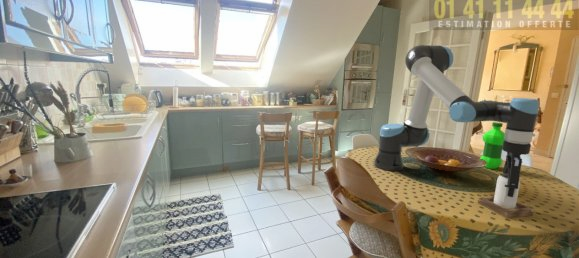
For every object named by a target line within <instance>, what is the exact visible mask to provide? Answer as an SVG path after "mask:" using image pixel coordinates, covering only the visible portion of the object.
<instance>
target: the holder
mask: <svg viewBox="0 0 579 258" xmlns="http://www.w3.org/2000/svg"><path fill="white" fill-rule="evenodd" d="M494 196H495V195H491V196H490V195H489V196H482V197H480V199H479V200H477V203H478V204H479V205H481V206H483V207H485V208H487V209H488V208H489V209H488V210H490V211H492V212H494V213H495V214H498V215H500V216H501V215H502V217H503V216H504V217H503V218H505V219H511V218H512V217H513V218H520V217H521V218H522V217H528V216H529V217H531V216H533V215H534V212H532V210H533V209H532V208H531V207H529V206H528V205H525V204H523V203H521V202H519V201H517V202H516V207H515V209H509V210H507V209H505V208H503V207H501V206H499V205H497V204H495V203H494Z"/></svg>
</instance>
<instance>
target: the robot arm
mask: <svg viewBox="0 0 579 258" xmlns="http://www.w3.org/2000/svg"><path fill="white" fill-rule="evenodd" d="M404 59H405V61H404V62H405V66H406V68H407V69H408V71H409V72H410V73H411V74H412V75H413V76H418V81H417V85H416V89H415V93H414V95H413V96H414V97H413V99H412V104H411V107H410V110H409V115H408V118H407V119H406V120H404V122H403V124H401V123H387V124H383V125H382V126H381V127H380V131H379V143H378V152H377V154H376V157H375V158H374V166H375V167H376V168H379V169H380V168H381V169H380V170H384V171H391V172H393V171H394V172H396V171H402V170H403V169H404V160H403V156H402V148H412V147H416V148H417V147H420V146H422V147H423V146H424V145H426V143H427V142H428V141H429V139H430V136H431V135H430V130H429V127H428V124H427V122H426V121H427V118H428V115H429V113H430V108H431V105H432V101H433V98H434V94H435V95H436V97H438V98H439V99H440V101H442V102H443V103H444V104H445V106H446V107H447V108H448V109H449V110H448V115H449V117H450V119H451V120H452V121H454V122H456V123H472V122H497V123H503V124H504V123H505V124H506V126H505V130H504V133H505V135H504V139H505V140H504V141H503V147H502V152H503V151H504V152H506V153H507V154H506V156H505V162H504V164H503V165H504V166H503V170H502V174H508V183H507V185H505V187H506V190H505V195H504V200H503V203H504V204H508V205H513V203H514V198H515V193H516V189H518V185H519V181H520V176H521V170H522V169H521V168H522V164H523V159H522V158H521V155H525V156H526V155H529V154H530V152H531V147H532V145H531V142H532V141H533V138H534V137H536V134H535V133H534V132H535V126H536V123H537V119H538V114H539V110H540V109H539V108H540V101H539V100H538V99H535V98H529V97H528V98H526V97H513V98H512V99H511V101H510V102H505V101H504V102H503V101H495V100H480V101H474V100H473V99H472V98H470V97H469V96H468V95H467V94H466V93H465V92H464V91H463V90H462V89H460V88H459V86H457V85H456V84H455V83H454V82H453V81H452V80H450V79H449V78H448V76H446V75H445V74H444V73H445V71H447V70H449V68H451V66H452V65H453V63H454V53H453V52H452V50H451V49H450V48H449V47H448V46H443V45H433V44H432V45H428V44H426V45H425V44H420V45H415V46H414V47H412V48H411V49H409V51H408V52H407V53H406V55H405V58H404ZM512 184H515V185H512Z"/></svg>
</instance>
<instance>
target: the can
mask: <svg viewBox="0 0 579 258" xmlns="http://www.w3.org/2000/svg"><path fill="white" fill-rule="evenodd" d="M507 183H508V174H503V173H500V174H499V176H498V177H497V180H496V185H495V190H494V191H495V192H494V195H493V196H494V203H495V204H497V205H499V206H501V207H503V208H505V209H507V210H509V209H515V207H516V202H518V195H519V192H520V185H521V181H520V180H519V185H518V189H516V193H515V198H514V203H513V205H508V204H504V203H503V200H504V195H505V190H506V187H505V185H507ZM512 185H515V184H512Z"/></svg>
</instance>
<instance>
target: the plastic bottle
mask: <svg viewBox="0 0 579 258" xmlns="http://www.w3.org/2000/svg"><path fill="white" fill-rule="evenodd" d="M503 124H504V123H503V122H497V121H492V124H491V127H492V129H490V130H488V131H486V132H485V133H483V135H482V141H483V142H484V146H483V153H482V155H481V156H480V158H479V160H480V159H483V160H485V161H486V162H487V165H486V166H485V167H484V168H486V169H490V170H495V169H498V168H499V167H500V166H501V165H502V164H503V159H502V155H503V154H502V153H503V150H502V147H503V141H504V140H505V139H504V135H505V131H503V130H501V128H502V127H503Z"/></svg>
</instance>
